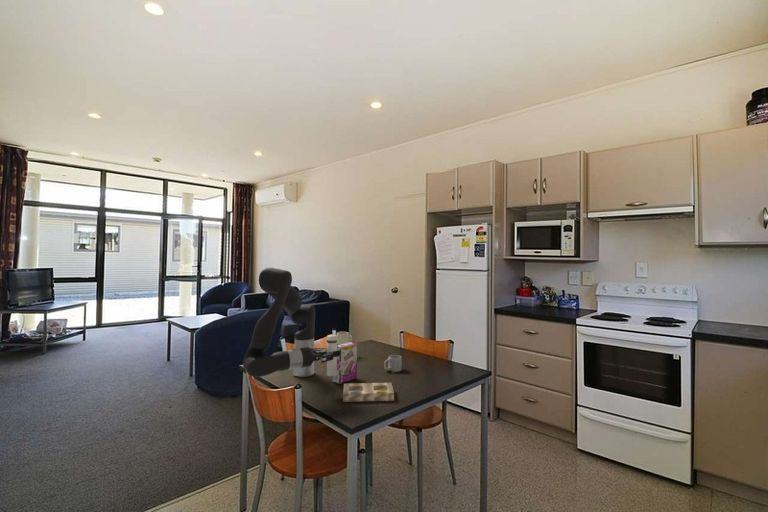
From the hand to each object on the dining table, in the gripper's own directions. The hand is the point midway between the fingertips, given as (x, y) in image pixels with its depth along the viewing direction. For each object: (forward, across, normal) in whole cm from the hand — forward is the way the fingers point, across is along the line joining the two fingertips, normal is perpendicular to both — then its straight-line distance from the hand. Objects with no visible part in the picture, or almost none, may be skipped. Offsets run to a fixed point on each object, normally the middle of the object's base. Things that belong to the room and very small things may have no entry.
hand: (337, 351), depth 151 cm
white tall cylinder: (-3, 0, +9) cm, 9 cm away
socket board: (+9, -10, +17) cm, 21 cm away
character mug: (+29, +50, +18) cm, 61 cm away
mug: (+37, +12, +18) cm, 43 cm away
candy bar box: (+10, +12, +18) cm, 23 cm away
